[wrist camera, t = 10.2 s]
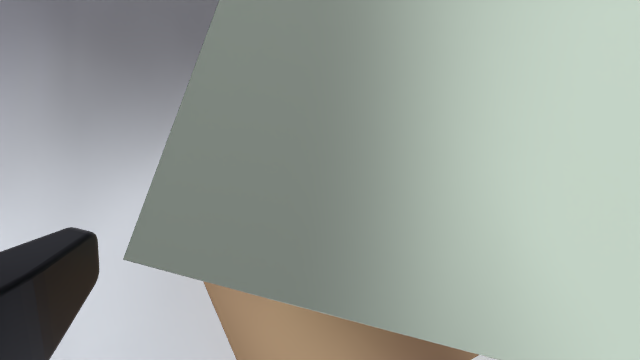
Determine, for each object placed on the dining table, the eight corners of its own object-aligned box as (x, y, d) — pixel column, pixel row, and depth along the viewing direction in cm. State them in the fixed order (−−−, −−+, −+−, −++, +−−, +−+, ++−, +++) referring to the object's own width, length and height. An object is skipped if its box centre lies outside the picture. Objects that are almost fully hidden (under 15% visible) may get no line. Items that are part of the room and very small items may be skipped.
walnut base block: (288, 433, 18) (282, 466, 14) (191, 212, 21) (164, 190, 17) (498, 315, 20) (544, 317, 16) (386, 121, 22) (402, 81, 18)
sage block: (398, 333, 16) (758, 428, 3) (270, 299, 16) (123, 259, 3) (423, 207, 17) (753, -90, 4) (304, 178, 17) (289, -190, 4)
